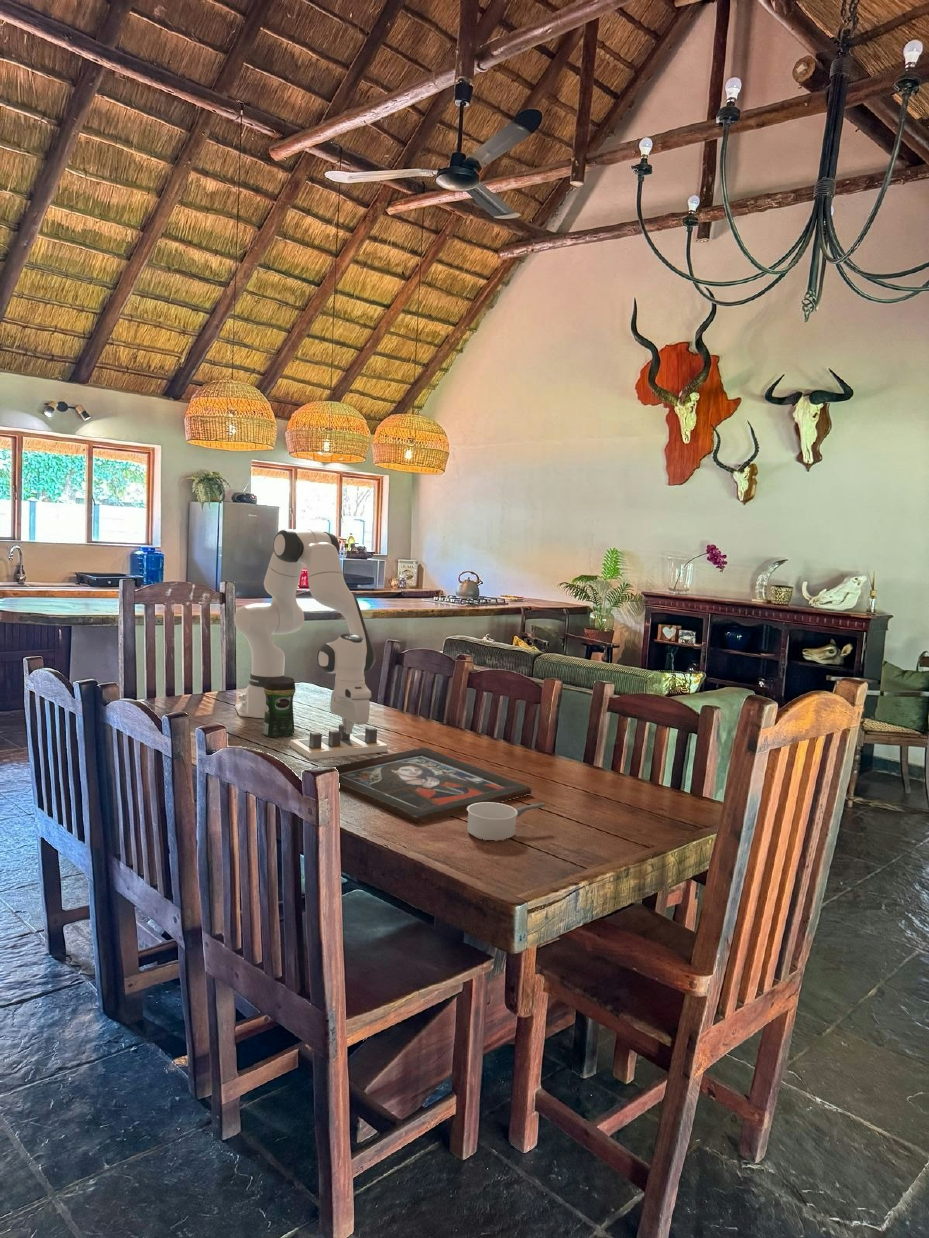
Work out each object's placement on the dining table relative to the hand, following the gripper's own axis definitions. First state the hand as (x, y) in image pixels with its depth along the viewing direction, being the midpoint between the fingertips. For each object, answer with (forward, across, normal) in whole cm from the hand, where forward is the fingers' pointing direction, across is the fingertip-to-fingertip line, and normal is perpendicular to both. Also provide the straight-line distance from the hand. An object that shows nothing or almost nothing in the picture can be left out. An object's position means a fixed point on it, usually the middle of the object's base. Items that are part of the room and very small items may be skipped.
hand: (347, 733), depth 246 cm
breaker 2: (+2, +4, -6) cm, 7 cm away
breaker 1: (+2, +4, -12) cm, 13 cm away
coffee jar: (+4, -22, -14) cm, 26 cm away
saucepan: (+6, +77, +4) cm, 78 cm away
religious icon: (+6, +40, +2) cm, 41 cm away
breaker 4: (+2, +3, +6) cm, 7 cm away
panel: (+4, 0, -3) cm, 5 cm away
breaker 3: (+2, -3, 0) cm, 3 cm away
